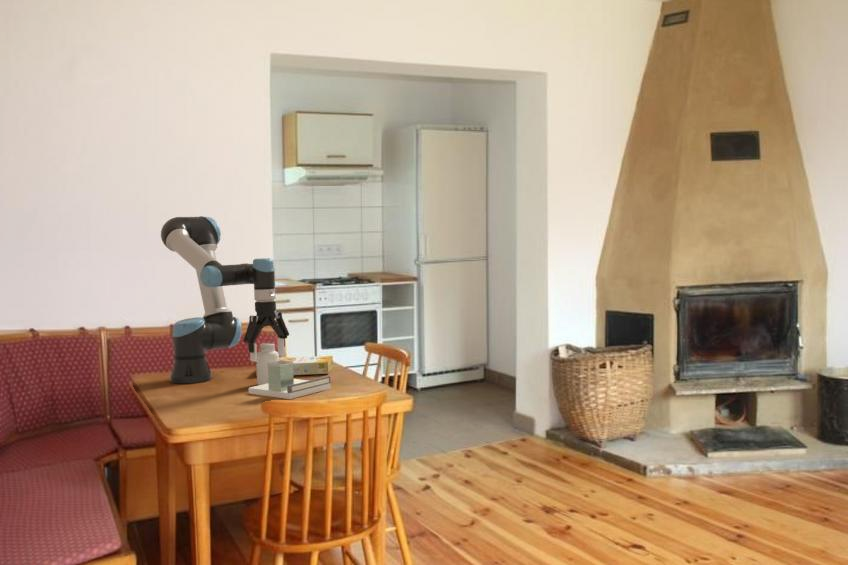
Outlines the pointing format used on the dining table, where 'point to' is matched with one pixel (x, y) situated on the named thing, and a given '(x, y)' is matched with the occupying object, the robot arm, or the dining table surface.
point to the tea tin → (280, 375)
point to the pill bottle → (265, 361)
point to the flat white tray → (294, 388)
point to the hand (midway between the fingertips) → (267, 358)
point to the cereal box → (309, 364)
